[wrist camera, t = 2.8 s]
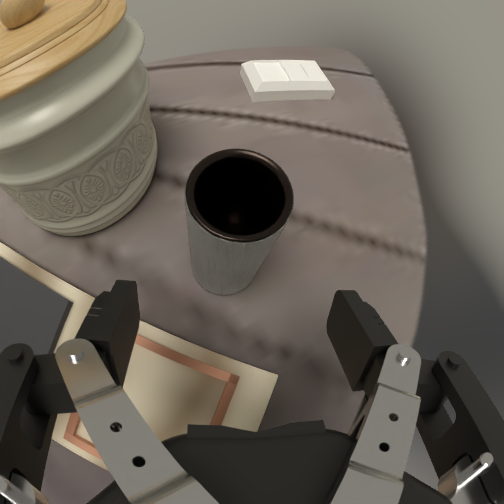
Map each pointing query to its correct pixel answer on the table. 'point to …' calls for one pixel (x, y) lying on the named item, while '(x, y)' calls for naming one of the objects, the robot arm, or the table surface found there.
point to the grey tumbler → (234, 216)
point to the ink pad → (29, 311)
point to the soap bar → (285, 80)
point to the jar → (74, 112)
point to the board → (162, 377)
